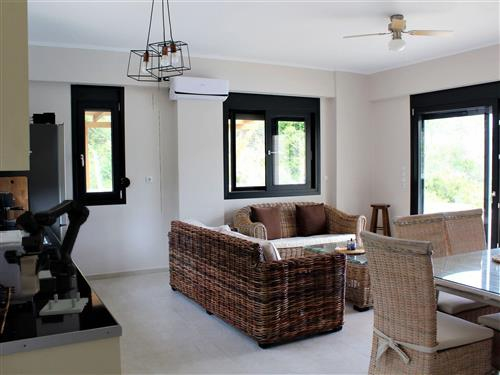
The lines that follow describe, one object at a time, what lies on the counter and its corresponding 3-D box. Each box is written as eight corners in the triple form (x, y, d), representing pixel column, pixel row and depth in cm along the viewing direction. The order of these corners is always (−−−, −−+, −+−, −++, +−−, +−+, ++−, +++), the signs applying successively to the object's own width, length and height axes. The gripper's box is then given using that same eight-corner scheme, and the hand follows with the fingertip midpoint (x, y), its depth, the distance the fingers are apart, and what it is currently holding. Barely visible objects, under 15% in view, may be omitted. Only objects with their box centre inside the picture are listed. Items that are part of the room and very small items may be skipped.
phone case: (54, 280, 221) (57, 272, 236) (54, 277, 221) (57, 269, 236) (33, 282, 219) (37, 274, 234) (33, 279, 218) (37, 271, 234)
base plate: (50, 303, 182) (49, 292, 182) (88, 300, 184) (87, 290, 184) (39, 315, 168) (38, 303, 168) (80, 312, 170) (80, 300, 170)
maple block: (26, 290, 176) (24, 256, 175) (39, 290, 177) (37, 255, 176) (22, 294, 172) (20, 258, 171) (36, 293, 172) (33, 257, 171)
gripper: (3, 228, 175) (-6, 265, 165) (56, 225, 178) (50, 261, 168) (12, 245, 184) (4, 281, 173) (63, 243, 186) (57, 277, 176)
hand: (29, 275), depth 172 cm, fingers closed on maple block, 4 cm apart
